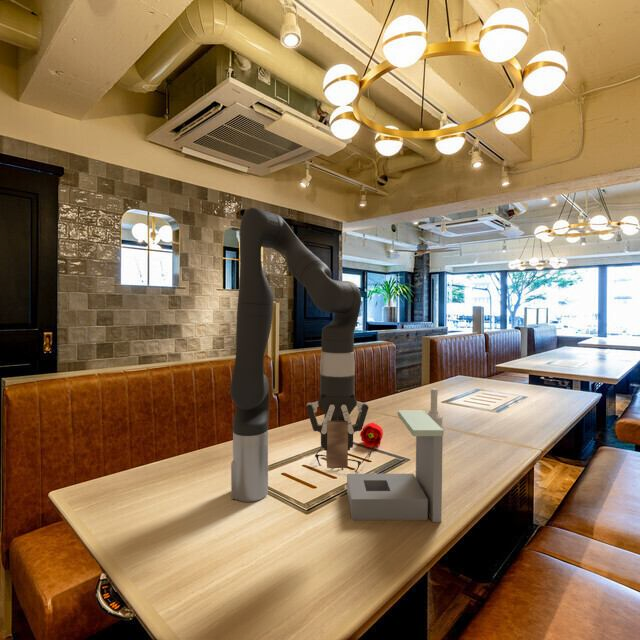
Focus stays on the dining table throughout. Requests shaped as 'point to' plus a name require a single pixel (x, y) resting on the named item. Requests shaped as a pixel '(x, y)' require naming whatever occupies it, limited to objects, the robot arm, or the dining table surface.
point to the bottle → (435, 408)
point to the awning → (427, 457)
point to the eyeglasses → (348, 459)
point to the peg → (337, 443)
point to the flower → (371, 435)
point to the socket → (386, 497)
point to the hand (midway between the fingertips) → (336, 449)
